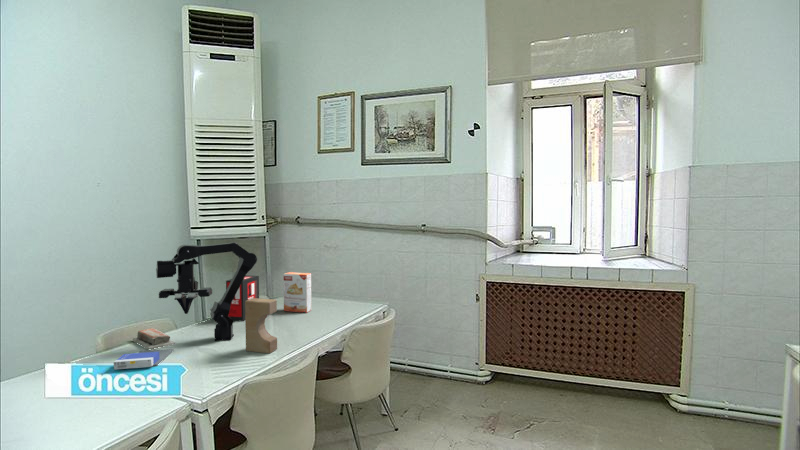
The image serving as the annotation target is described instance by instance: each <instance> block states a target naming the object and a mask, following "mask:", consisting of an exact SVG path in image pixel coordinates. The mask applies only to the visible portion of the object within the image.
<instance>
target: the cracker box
mask: <svg viewBox="0 0 800 450" xmlns="http://www.w3.org/2000/svg"><path fill="white" fill-rule="evenodd" d="M283 311H284V312H292V313H293V312H294V313H303V312H305V313H309V312H311V311H312V273H310V272H294V271H293V272H292V271H289V272H285V273H283Z"/></svg>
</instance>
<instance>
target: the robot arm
mask: <svg viewBox="0 0 800 450" xmlns="http://www.w3.org/2000/svg"><path fill="white" fill-rule="evenodd" d="M222 253H233V254H234V255H235V256H237V257H238V258H239V259H238V263H237V268H236V271H235V272H234V275H233V276H232V278H231V279H232V280H231V282H230V284H229V286H228V288H227V290H226V289H225V292H224V294H223V295H222V297H221V299H220V300H219V301H214V302H213V305H212V307H211V308H210V312H209V313H210V317H211V319H212V320H213V321H214V322H215V323H216V324H215V328H214V331H213V332H214V341H215V342H216V341H217V342H218V341H231V340H232V339H233V338H234V335H235V334H234V332H233V331H234V329H233V327H234V326H233V324H234V321H233V320H232V319H231V318H230V317H229V316H228V315H229V312H230V306H231V302H232V301H233V299H234V297H235V295H236V293H237V291H238V289H239V287H240V285H241V283H242V281H243V279H244V278H245V276H246V275H248V273H249V272H250V271H251V270H252V269H253V267H254V266H255V265H256V264H257V262H258V257H257V255H256V254H255V253H252V252H250V251H247V250H246V249H245V248H243V247H242V246H241V245H239V244H238V243H237V242H235V241H231V242H227V243H226V242H224V243H217V244H215V243H214V244H205V245H197V244H195V245H194V244H182V245H181V244H180V246H178V247H177V249H176V254H174V255H173V257H172V258H171V259H169V260H157V261H156V268H155V272H156V274H155V276H156V279H162V278H163V279H164V278H173V277H174V276H175V275H176V274H177V279H176V282H177V289H176V290H175V289H174V288H163V289H162V290H160V291H158V299H168V297H170V296H174V300H176V301H177V302H178V304H179V305H180V307H181V309H182V311H183V313H184V314H186V315H188V314H189V312H190V308H191V305H192V303H193V300H194V299H196V298H197V297H200V298H202V297H203V298H205V297H210V296H211V295H213V289H212V287H201V288H199V287H198V286H199V282H198V281H197V280H195V276H194V275H195V274H194V273H195V272H194V270H195V269H194V265H199V263H200V262H198V261H197V260H196V259H195V258H198V257H201V256H206V255H214V254H222ZM198 288H199V289H198Z"/></svg>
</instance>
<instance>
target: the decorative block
mask: <svg viewBox="0 0 800 450" xmlns="http://www.w3.org/2000/svg"><path fill="white" fill-rule="evenodd" d="M277 301H278V299H271V298H270V299H268V298H260V297H259V298H252V299H249V300H246V301H245V320H244V321H245V327H244V328H245V351H246V352H251V353H252V352H253V353H260V354H261V353H262V354H271V353H272V352H274V351H276V350H278V338H277V336H274V335H272V334H270V333H269V332H268V330H267V328H266V323H265V322H266V319H267V318H268V316H270V315H272V314H274V313H277V311H278V310H277V309H278V308H277V306H278V303H277Z"/></svg>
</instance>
